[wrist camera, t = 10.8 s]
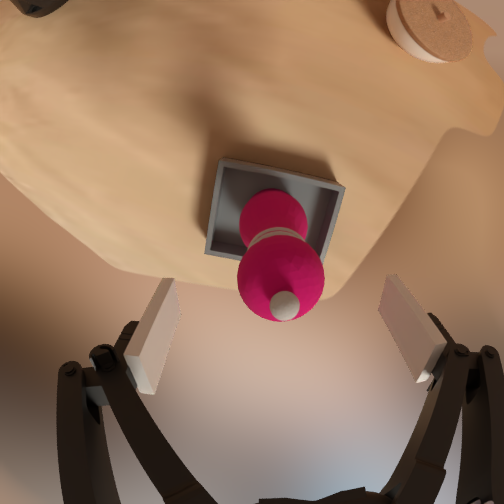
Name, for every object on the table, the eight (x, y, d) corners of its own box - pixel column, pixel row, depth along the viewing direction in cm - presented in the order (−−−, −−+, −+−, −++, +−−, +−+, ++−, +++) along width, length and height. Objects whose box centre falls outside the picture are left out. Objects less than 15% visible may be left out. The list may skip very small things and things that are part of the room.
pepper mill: (274, 171, 32) (297, 228, 14) (313, 216, 34) (369, 315, 16) (228, 211, 34) (195, 309, 16) (268, 252, 36) (276, 374, 18)
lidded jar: (358, 24, 24) (387, -3, 15) (398, -10, 21) (430, -34, 12) (417, 84, 27) (460, 76, 18) (451, 45, 23) (491, 35, 15)
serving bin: (209, 242, 36) (204, 253, 33) (222, 157, 32) (218, 160, 29) (314, 262, 37) (319, 274, 34) (337, 182, 33) (345, 187, 29)
